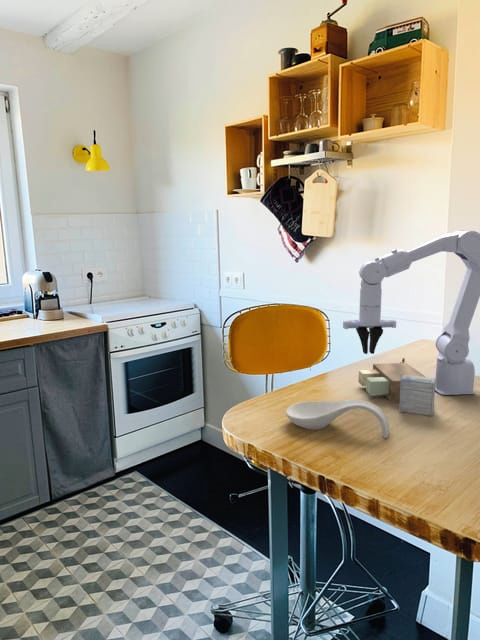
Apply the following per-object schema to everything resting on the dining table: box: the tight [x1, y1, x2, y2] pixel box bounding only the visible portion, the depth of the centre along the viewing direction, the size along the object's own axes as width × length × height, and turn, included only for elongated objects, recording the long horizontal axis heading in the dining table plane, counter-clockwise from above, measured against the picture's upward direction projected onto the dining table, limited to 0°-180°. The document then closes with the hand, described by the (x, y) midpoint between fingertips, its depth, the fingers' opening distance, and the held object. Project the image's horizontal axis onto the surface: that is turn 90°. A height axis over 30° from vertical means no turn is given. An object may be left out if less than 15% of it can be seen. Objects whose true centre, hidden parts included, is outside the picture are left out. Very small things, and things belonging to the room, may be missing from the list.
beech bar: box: [358, 369, 381, 387], centre depth 141 cm, size 9×4×4 cm, turn 93°
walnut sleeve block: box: [372, 362, 426, 403], centre depth 138 cm, size 10×16×6 cm, turn 3°
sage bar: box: [365, 377, 390, 396], centre depth 134 cm, size 9×4×4 cm, turn 94°
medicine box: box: [398, 375, 436, 417], centre depth 123 cm, size 8×4×9 cm, turn 65°
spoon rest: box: [285, 399, 390, 439], centre depth 114 cm, size 24×12×7 cm, turn 69°
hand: (368, 353), depth 139 cm, fingers closed
